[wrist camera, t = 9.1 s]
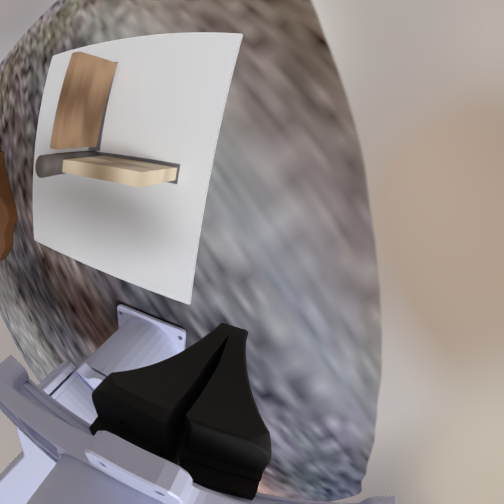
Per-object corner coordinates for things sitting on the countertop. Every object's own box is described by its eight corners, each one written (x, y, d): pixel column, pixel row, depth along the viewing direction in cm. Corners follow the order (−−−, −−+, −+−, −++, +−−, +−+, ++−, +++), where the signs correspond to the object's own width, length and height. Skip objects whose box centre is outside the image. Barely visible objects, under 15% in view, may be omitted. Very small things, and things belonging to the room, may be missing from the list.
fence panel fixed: (85, 167, 22) (34, 176, 16) (87, 149, 21) (36, 154, 15) (174, 184, 21) (125, 197, 15) (178, 162, 20) (129, 167, 14)
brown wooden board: (96, 146, 21) (56, 149, 16) (89, 145, 21) (49, 148, 16) (117, 63, 18) (79, 51, 13) (109, 63, 18) (72, 52, 13)
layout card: (190, 303, 24) (189, 305, 24) (36, 239, 27) (34, 240, 27) (243, 35, 16) (242, 33, 16) (54, 56, 19) (52, 55, 18)
